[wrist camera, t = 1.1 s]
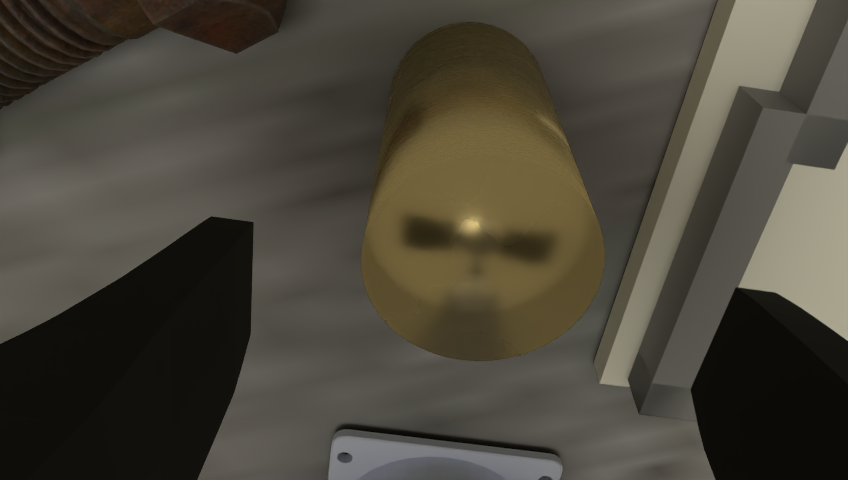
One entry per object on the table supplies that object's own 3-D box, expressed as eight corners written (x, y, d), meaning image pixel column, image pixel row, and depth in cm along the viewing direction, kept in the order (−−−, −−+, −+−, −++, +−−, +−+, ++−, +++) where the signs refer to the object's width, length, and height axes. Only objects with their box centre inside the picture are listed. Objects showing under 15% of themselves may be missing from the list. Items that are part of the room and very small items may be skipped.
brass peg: (526, 179, 20) (571, 373, 13) (382, 159, 20) (350, 345, 13) (561, 35, 18) (635, 174, 11) (401, 10, 18) (374, 137, 11)
